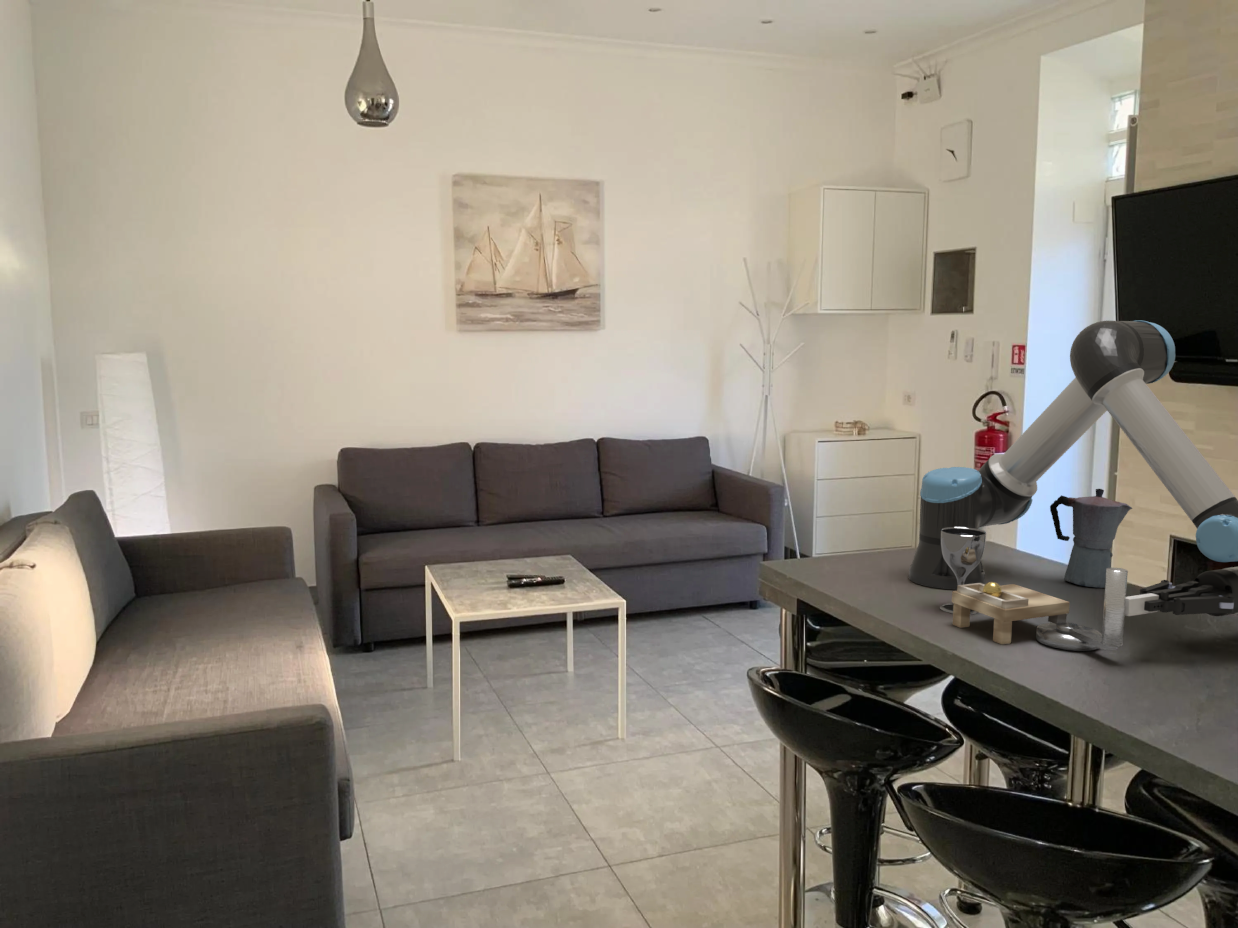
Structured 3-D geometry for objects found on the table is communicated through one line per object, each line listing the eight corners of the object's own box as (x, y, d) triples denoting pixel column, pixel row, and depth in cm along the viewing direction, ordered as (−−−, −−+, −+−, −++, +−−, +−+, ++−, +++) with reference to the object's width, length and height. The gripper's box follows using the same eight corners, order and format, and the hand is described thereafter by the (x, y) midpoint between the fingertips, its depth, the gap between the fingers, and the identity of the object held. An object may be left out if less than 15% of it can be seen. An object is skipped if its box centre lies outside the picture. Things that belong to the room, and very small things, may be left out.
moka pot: (1132, 591, 200) (1140, 493, 197) (1051, 586, 203) (1057, 490, 200) (1119, 579, 209) (1125, 486, 206) (1041, 575, 212) (1047, 483, 209)
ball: (978, 597, 172) (979, 580, 172) (992, 595, 173) (993, 579, 173) (991, 601, 169) (992, 584, 169) (1004, 600, 170) (1005, 583, 170)
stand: (950, 623, 177) (952, 584, 176) (1011, 615, 182) (1014, 577, 181) (1003, 645, 165) (1006, 602, 164) (1067, 635, 170) (1070, 594, 169)
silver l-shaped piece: (1023, 634, 170) (1028, 550, 168) (1073, 630, 172) (1079, 547, 170) (1090, 665, 154) (1096, 573, 152) (1144, 660, 156) (1151, 570, 154)
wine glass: (944, 601, 192) (948, 525, 190) (987, 607, 187) (991, 530, 185) (931, 610, 185) (935, 532, 183) (975, 617, 181) (979, 537, 179)
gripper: (1263, 623, 159) (1160, 641, 150) (1190, 603, 171) (1089, 619, 162) (1267, 578, 158) (1163, 593, 149) (1193, 561, 170) (1092, 574, 161)
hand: (1125, 606), depth 156 cm, fingers closed
